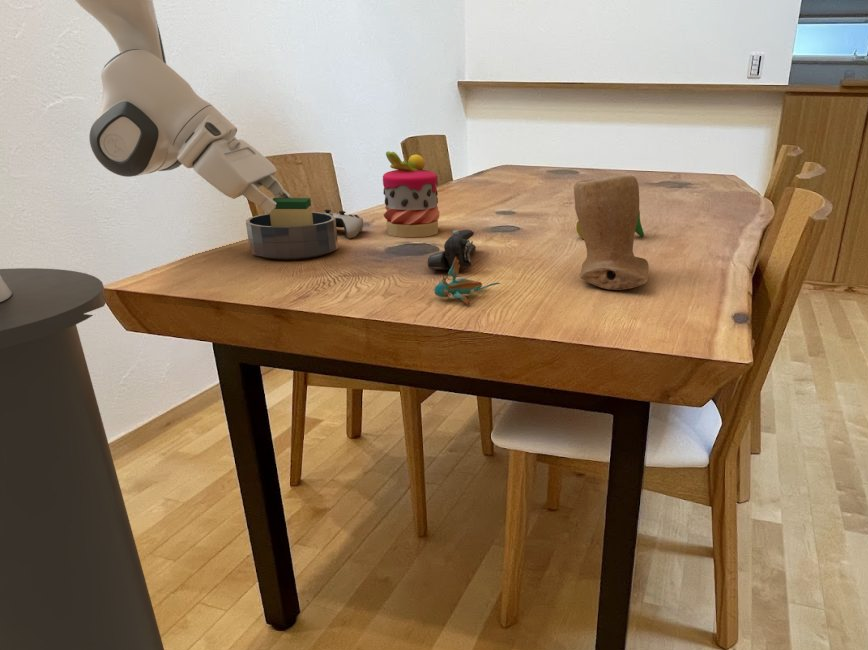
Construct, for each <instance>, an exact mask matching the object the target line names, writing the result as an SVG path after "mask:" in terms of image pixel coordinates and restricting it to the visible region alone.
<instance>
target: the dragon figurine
mask: <svg viewBox="0 0 868 650" xmlns="http://www.w3.org/2000/svg"><path fill="white" fill-rule="evenodd" d="M458 262H459V260H457V258H456V257H455V259H454V262H453V265H452V267H450V268H449V269H448V272H447V274H448V275H449V276H451V277H452V281H450V282H449V283H448V282H447V279H448V277H447V275H445V276H442V279H441V281H439V282H438V283H437V284H436V285H435V287H434V289H433V290H434V291H433V293H434V294H435V295H436V296H437V297H439V298H445V299H448V300H450V297H451V296H453V297H455V298H456V299H460V300H461V301H462V302H464V303H465V304H466V305H470V304H471V303H470V301H469V299H468V298H467V297H466V296H465V295H471V294H472V291H474V292H475V291H481V290H483V289H486V288H489V287H491V286H495V285H499V284H501V282H493V283H490V284H487V285H485V286H483V283H482V282H481V281H477V280H473V279H468V278H459V279H457V277H458V275H459V271H460V270H459V267H460V264H459V265H458Z"/></svg>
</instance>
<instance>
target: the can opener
mask: <svg viewBox="0 0 868 650" xmlns="http://www.w3.org/2000/svg"><path fill="white" fill-rule="evenodd" d="M474 234H475V232H474V231H473V230H471V229H460V230H458V229H456V230H452V235H450V236H449V237H448V238H447V239H446V240H445V242H444V245H443V249H444V250H442V251H440V252H436V253H432V254H430V255H429V257H428V258H427V265H428V268H429V269H430V270H435V271H436V270H441V271H442V270H450V268H451V267H452V265H453V262H454V259H455V257H456V258H457V260H459V262H458V265H459V264H460V267H459V271H462V270H465V269H468V268H470V267H471V266H472V264H473V263H472V262H471V255H472V254H474V253H475V251H476V249H477V246H476V245H475V244H473V243H474V241H473V240H471V241H470V238H472V237H474V236H475V235H474Z"/></svg>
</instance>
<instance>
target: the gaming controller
mask: <svg viewBox="0 0 868 650" xmlns="http://www.w3.org/2000/svg"><path fill="white" fill-rule="evenodd" d="M323 211H324V213H326V214H330V215H333V216H334V217H335V218H336V228H341V229H343V230H344V235H345V237H346V238H347V239H353V238H355V237H356V236H357V235H358V234H359V233H361V232H362V231H363V228H364V219H363V217H362V216H360V215H358V214H351V213H350V214H346V212H347V211H345V210H339V211H338V213H335V212H334V213H331V212H332V210H331V209H324V210H323Z"/></svg>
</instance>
